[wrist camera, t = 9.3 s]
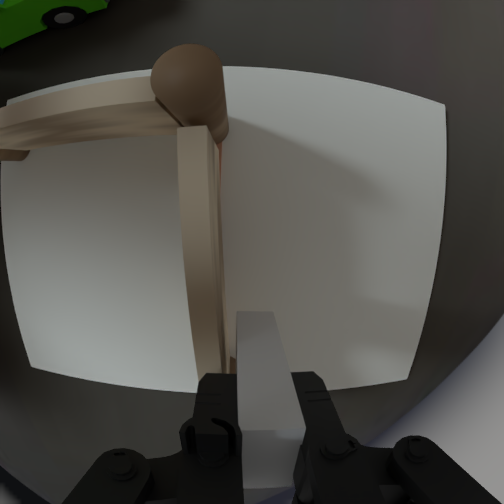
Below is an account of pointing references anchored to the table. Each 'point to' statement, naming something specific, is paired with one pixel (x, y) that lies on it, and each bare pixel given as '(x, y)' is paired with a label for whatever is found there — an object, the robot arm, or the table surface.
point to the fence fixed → (123, 106)
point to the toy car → (41, 16)
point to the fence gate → (203, 249)
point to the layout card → (236, 234)
